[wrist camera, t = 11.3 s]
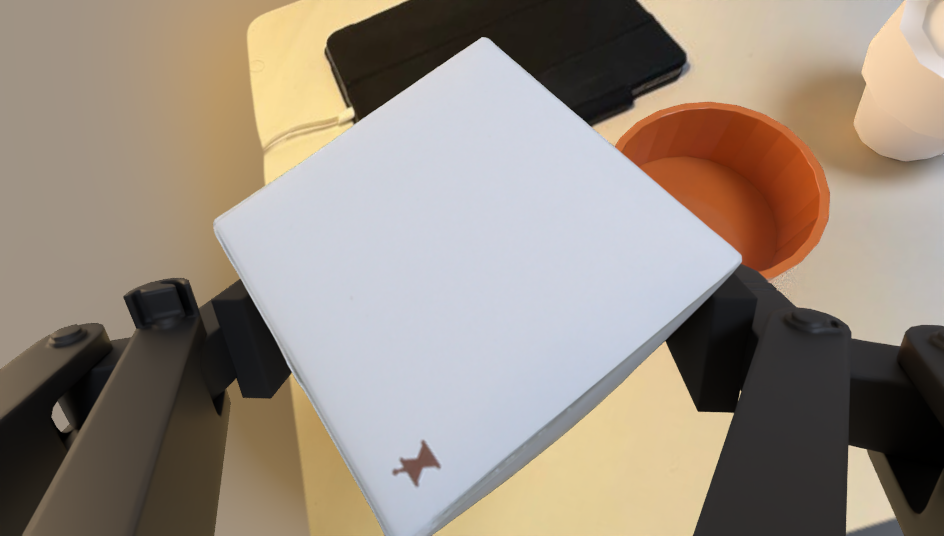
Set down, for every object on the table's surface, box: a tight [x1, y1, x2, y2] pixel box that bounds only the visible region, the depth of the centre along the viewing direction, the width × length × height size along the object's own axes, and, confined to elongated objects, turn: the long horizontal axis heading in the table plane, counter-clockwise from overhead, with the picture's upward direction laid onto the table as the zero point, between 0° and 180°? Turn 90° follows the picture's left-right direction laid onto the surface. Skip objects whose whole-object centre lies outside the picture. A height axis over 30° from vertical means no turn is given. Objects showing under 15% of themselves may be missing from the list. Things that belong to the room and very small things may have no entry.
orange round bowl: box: [615, 102, 830, 284], centre depth 34 cm, size 14×14×6 cm
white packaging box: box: [213, 37, 742, 536], centre depth 14 cm, size 7×7×13 cm
